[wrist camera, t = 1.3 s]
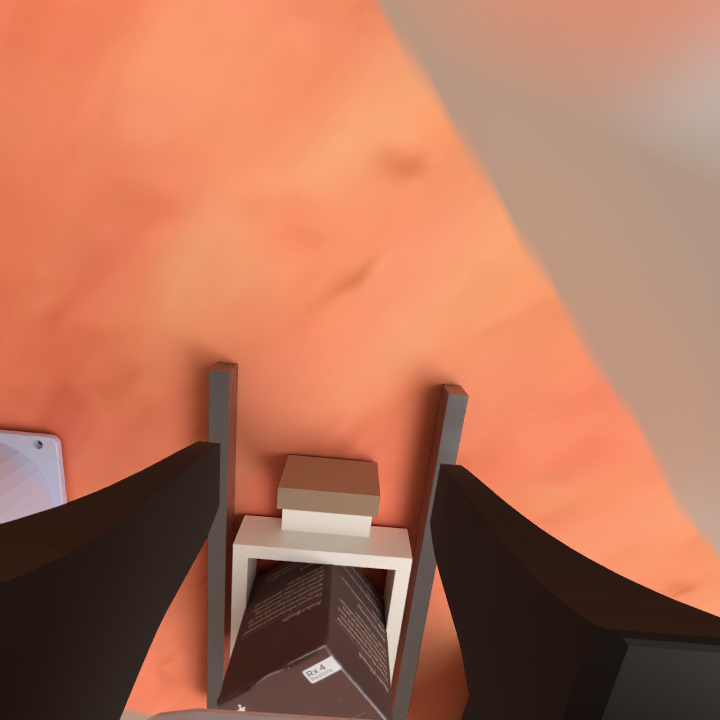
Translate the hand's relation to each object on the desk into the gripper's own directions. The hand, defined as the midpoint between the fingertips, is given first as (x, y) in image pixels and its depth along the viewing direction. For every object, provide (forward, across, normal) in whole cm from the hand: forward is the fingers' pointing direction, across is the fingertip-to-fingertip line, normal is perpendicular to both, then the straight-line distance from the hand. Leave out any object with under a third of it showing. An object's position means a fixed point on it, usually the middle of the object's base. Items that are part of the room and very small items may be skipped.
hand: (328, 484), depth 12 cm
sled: (+10, 0, +12) cm, 16 cm away
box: (+10, 0, +14) cm, 17 cm away
